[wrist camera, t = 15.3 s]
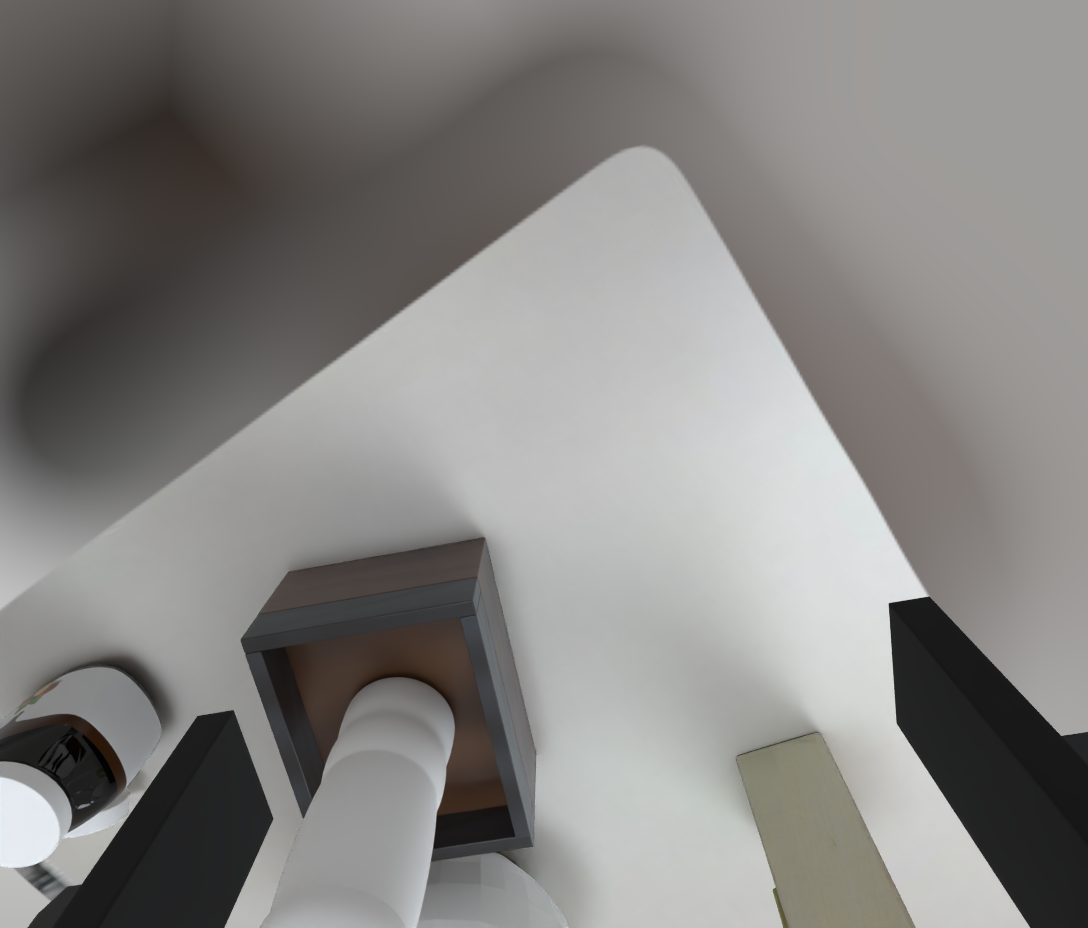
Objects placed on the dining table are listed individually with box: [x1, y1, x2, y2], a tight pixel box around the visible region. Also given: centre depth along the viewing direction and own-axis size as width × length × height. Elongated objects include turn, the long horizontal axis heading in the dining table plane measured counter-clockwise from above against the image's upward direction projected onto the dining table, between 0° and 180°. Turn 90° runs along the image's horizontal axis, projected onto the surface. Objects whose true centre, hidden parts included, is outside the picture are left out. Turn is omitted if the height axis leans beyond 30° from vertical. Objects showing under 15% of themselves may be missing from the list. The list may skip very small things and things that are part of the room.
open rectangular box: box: [241, 538, 536, 862], centre depth 54 cm, size 18×14×9 cm
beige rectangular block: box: [736, 733, 915, 928], centre depth 51 cm, size 8×7×21 cm
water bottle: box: [260, 677, 455, 928], centre depth 40 cm, size 7×7×25 cm
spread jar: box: [0, 665, 162, 868], centre depth 54 cm, size 12×11×12 cm
